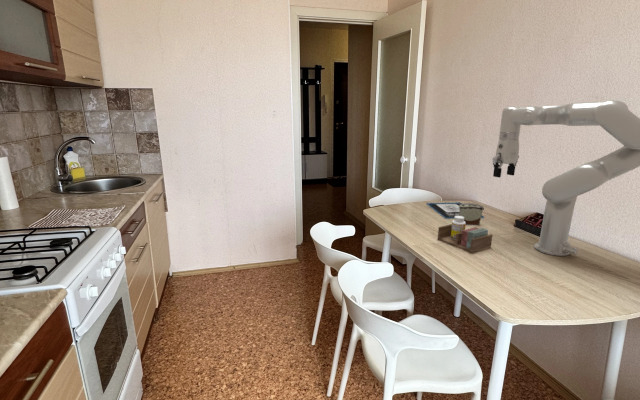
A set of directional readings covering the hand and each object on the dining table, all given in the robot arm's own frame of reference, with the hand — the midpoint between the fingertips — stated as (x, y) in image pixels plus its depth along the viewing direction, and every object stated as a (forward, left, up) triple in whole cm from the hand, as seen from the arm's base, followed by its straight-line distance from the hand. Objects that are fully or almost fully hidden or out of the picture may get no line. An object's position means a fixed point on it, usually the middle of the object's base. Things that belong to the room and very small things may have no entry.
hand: (503, 175), depth 154 cm
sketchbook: (+38, -17, -29) cm, 51 cm away
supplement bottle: (+5, +21, -28) cm, 35 cm away
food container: (+19, -5, -28) cm, 35 cm away
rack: (+1, +21, -28) cm, 35 cm away
